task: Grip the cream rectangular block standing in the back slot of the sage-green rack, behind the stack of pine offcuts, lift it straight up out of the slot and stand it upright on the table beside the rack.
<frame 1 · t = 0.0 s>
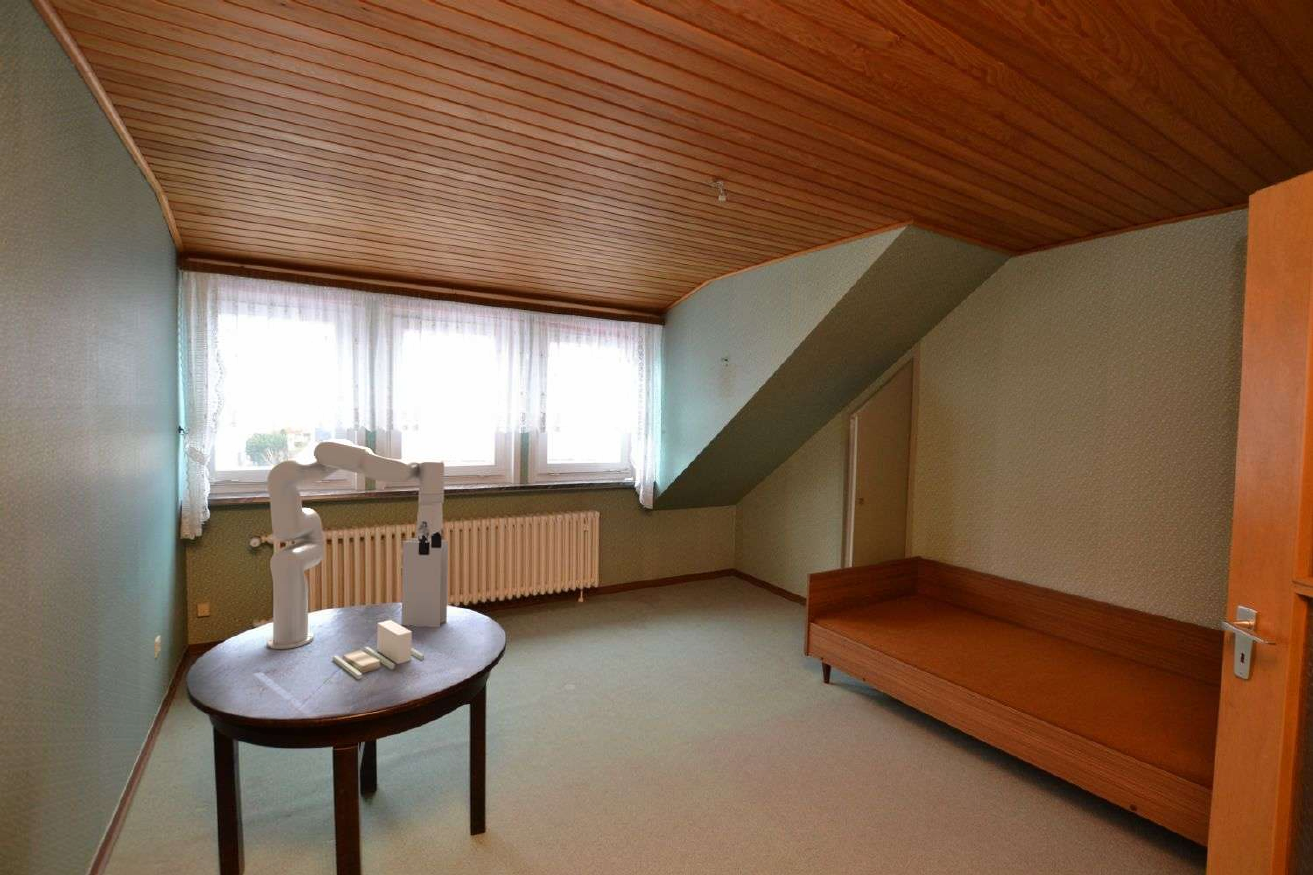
hand: (430, 551, 183), 31 cm above the table, tool pointing down, fingers open, 9 cm apart
cream rectangular block: (393, 659, 174), on the table
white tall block: (424, 624, 204), on the table
offcut lower: (361, 671, 167), on the table, touching offcut upper
rack: (378, 663, 170), on the table
offcut upper: (361, 664, 167), point 1 cm above the table, touching offcut lower
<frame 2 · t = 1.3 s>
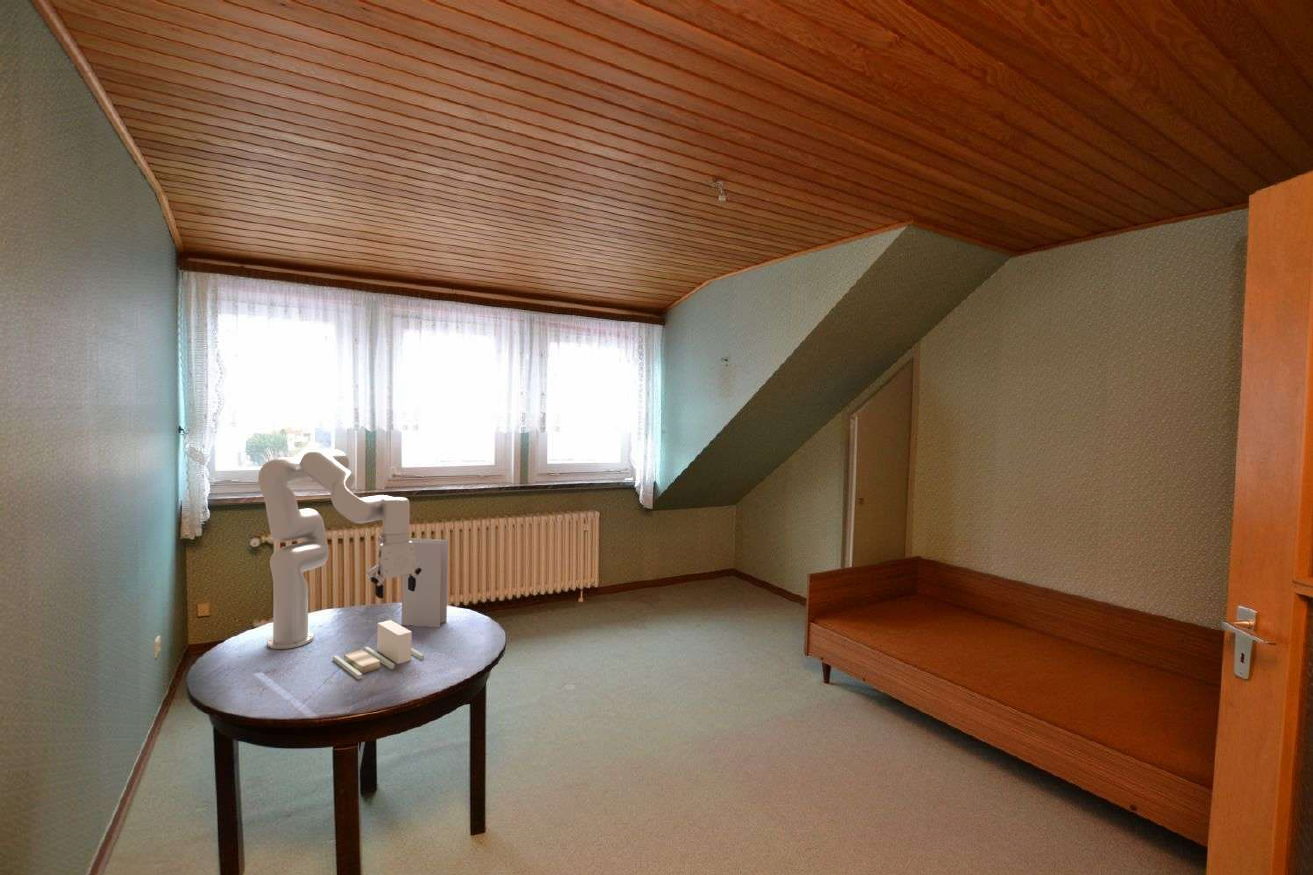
hand: (395, 593, 173), 20 cm above the table, tool pointing down, fingers open, 9 cm apart
nothing on the table moved.
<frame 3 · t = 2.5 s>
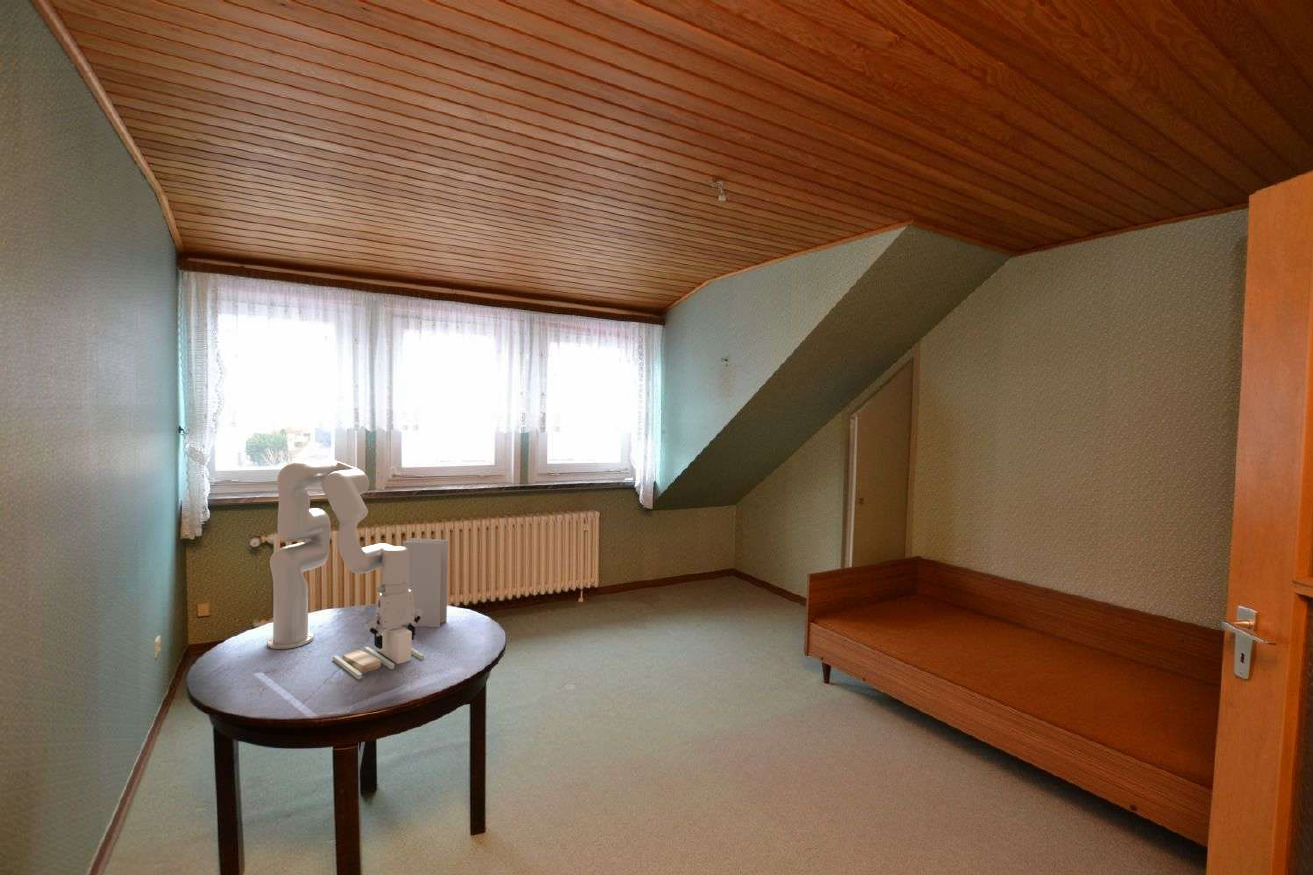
hand: (395, 643, 174), 5 cm above the table, tool pointing down, fingers open, 9 cm apart
nothing on the table moved.
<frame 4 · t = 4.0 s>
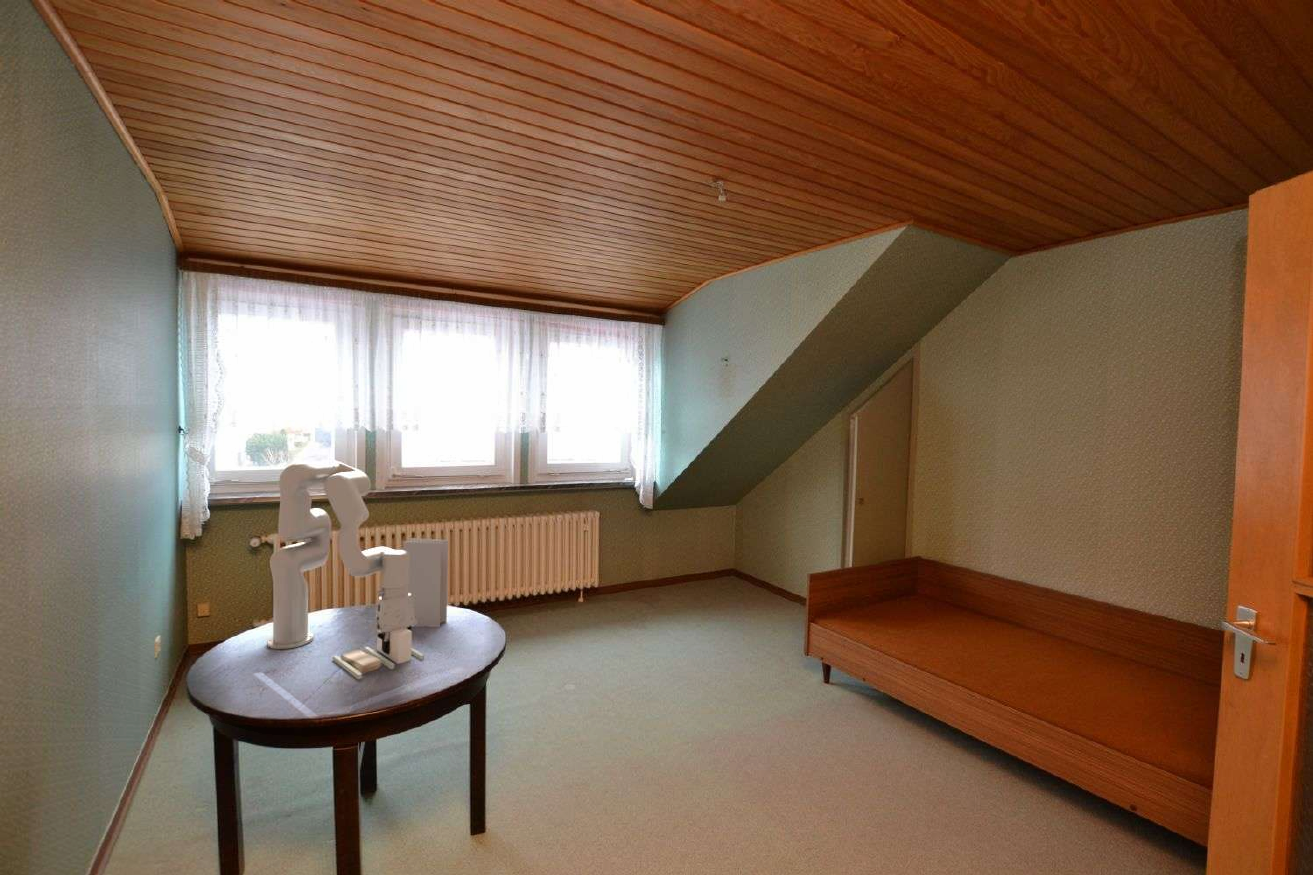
hand: (394, 649, 174), 3 cm above the table, tool pointing down, fingers closed on cream rectangular block, 4 cm apart
cream rectangular block: (393, 659, 174), on the table, touching gripper
everything else where it was.
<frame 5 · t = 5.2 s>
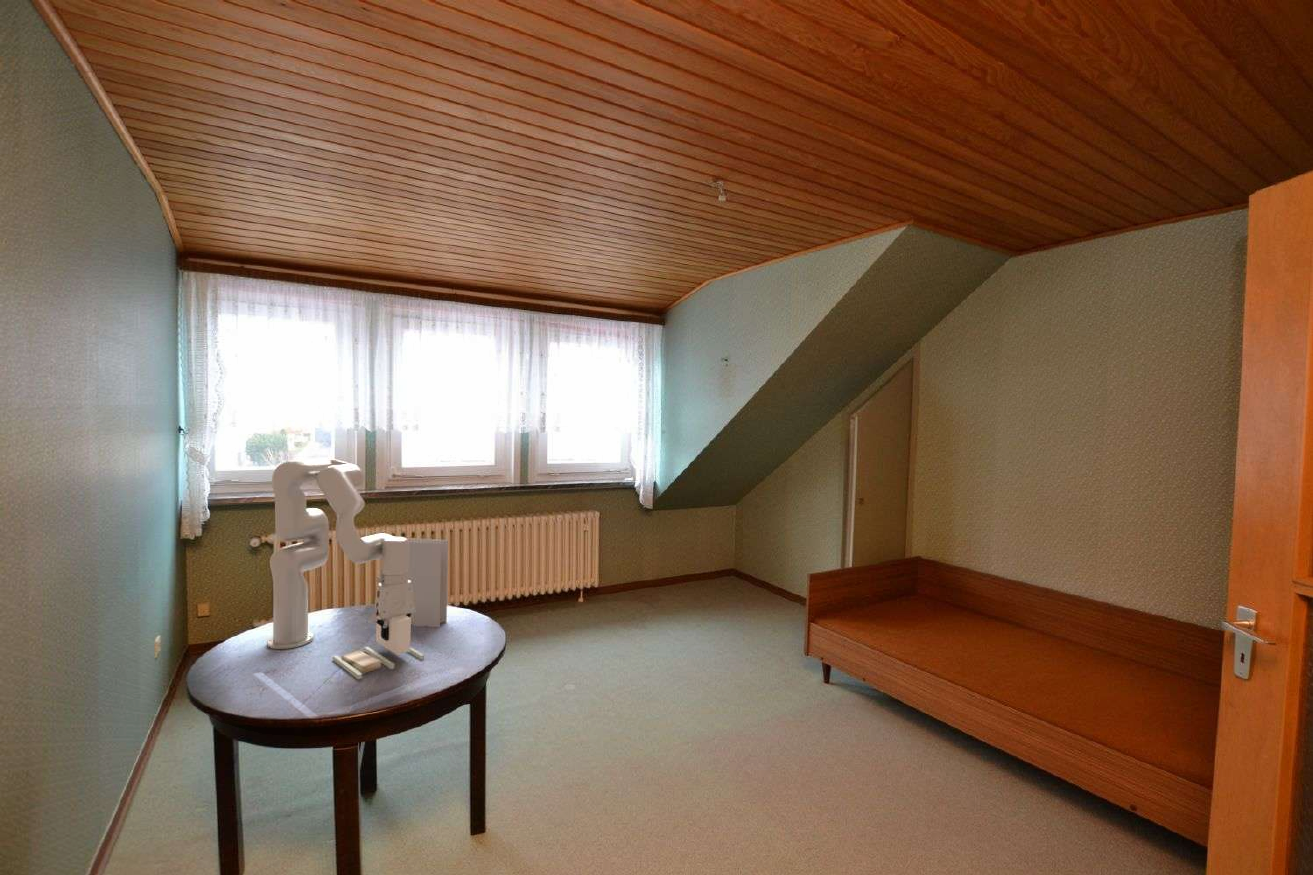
hand: (393, 636, 174), 7 cm above the table, tool pointing down, fingers closed on cream rectangular block, 4 cm apart
cream rectangular block: (392, 645, 174), point 4 cm above the table, touching gripper
everything else where it was.
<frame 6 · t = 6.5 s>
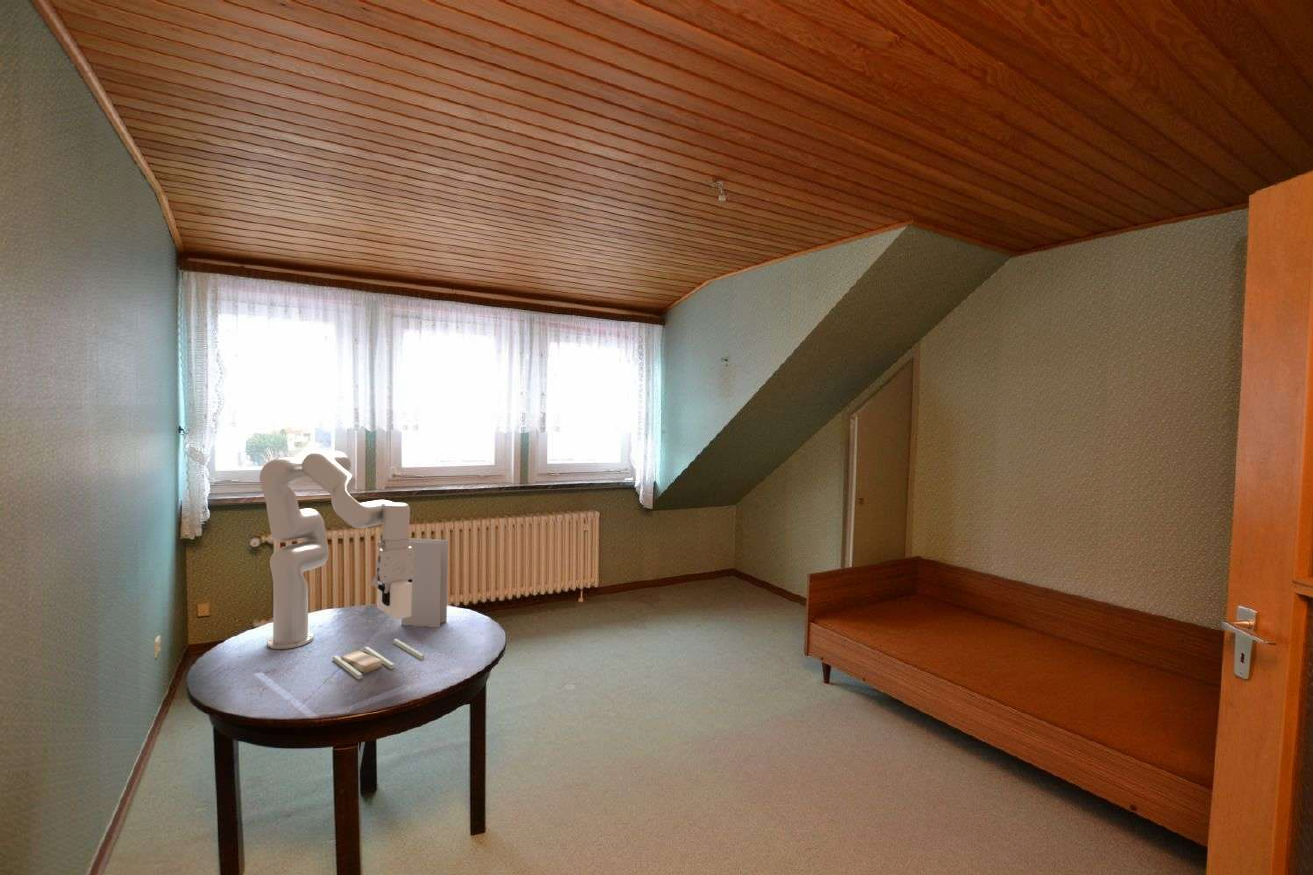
hand: (394, 602, 173), 18 cm above the table, tool pointing down, fingers closed on cream rectangular block, 4 cm apart
cream rectangular block: (393, 611, 173), point 15 cm above the table, touching gripper
offcut upper: (361, 664, 167), point 1 cm above the table, touching offcut lower, rack
everything else where it was.
when the fingers open (4 cm above the table, at t = 12.0 s): cream rectangular block drops 1 cm, on the table.
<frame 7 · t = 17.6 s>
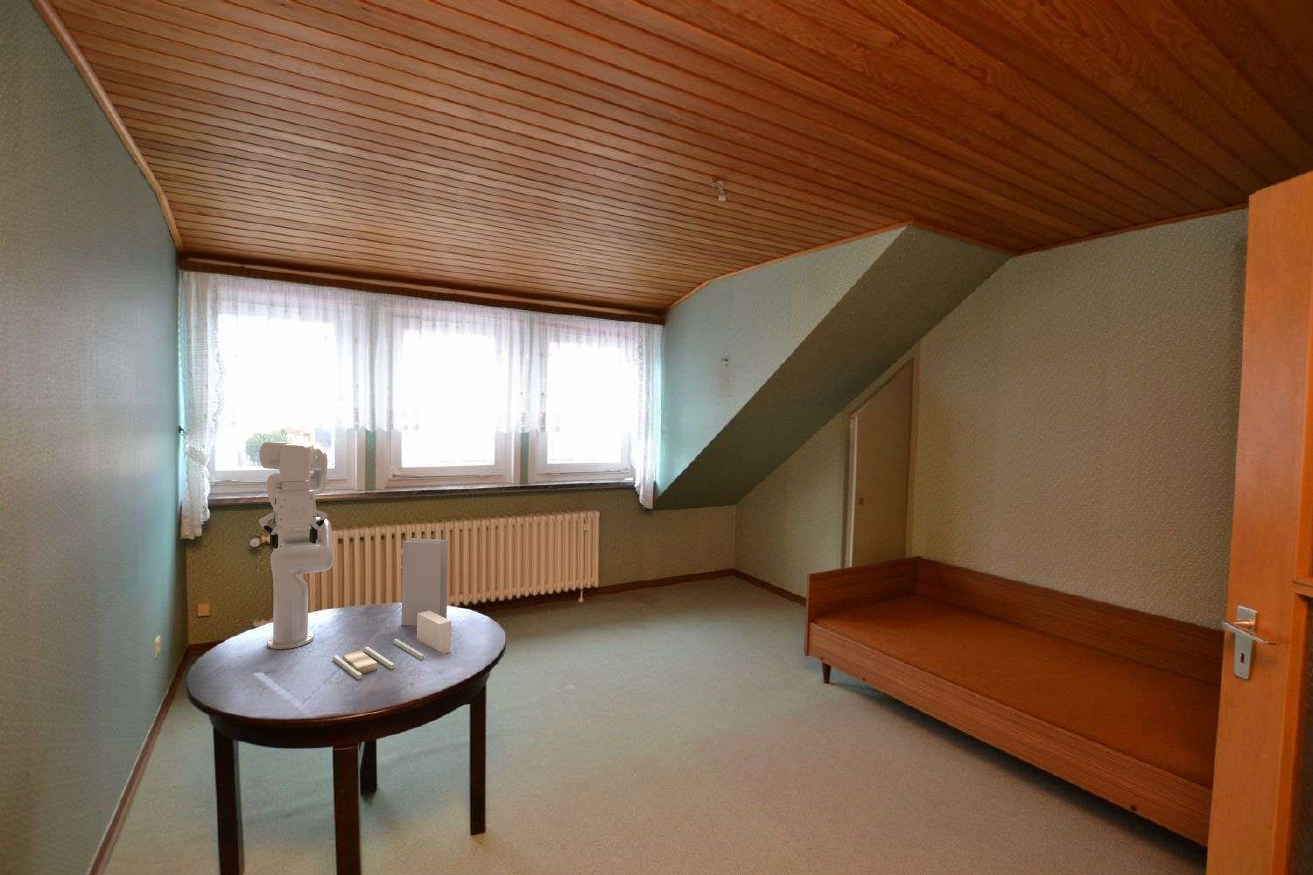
hand: (294, 545, 164), 36 cm above the table, tool pointing down, fingers open, 9 cm apart
cream rectangular block: (433, 647, 184), on the table
offcut upper: (359, 665, 166), point 1 cm above the table, touching offcut lower
everything else where it was.
at the end: cream rectangular block inside the target area (0.2 cm from its centre), on the table; cream rectangular block tilted 0°; the gripper is holding nothing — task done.
